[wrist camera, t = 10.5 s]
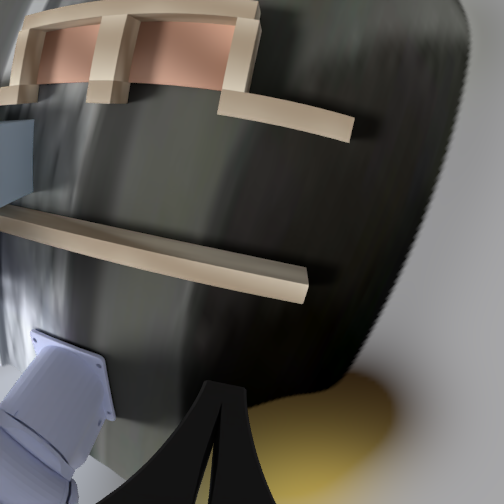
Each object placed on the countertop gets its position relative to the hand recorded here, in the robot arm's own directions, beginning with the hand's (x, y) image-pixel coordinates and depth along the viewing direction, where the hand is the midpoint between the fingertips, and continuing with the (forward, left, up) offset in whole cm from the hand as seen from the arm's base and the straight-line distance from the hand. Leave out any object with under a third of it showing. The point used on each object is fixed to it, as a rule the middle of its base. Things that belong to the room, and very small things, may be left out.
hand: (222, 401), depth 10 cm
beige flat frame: (+7, +9, -9) cm, 15 cm away
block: (+5, +18, -10) cm, 21 cm away
